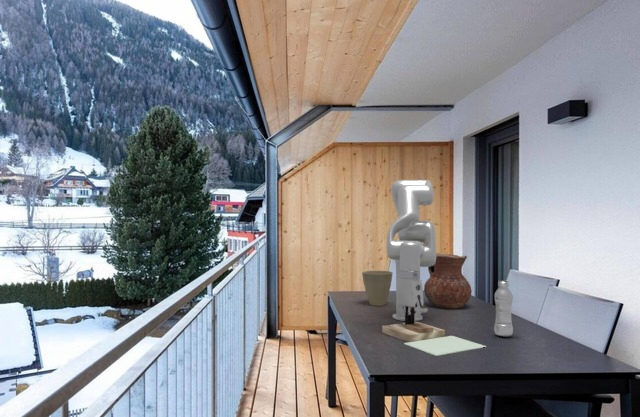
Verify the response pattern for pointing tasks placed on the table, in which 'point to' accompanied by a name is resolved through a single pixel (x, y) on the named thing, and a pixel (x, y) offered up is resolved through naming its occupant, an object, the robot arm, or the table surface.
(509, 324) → the plastic bottle
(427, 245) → the robot arm
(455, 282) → the jug
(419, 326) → the walnut tile
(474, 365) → the table surface
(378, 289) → the plant pot
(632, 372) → the table surface
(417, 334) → the board
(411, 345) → the sage mat
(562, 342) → the table surface
